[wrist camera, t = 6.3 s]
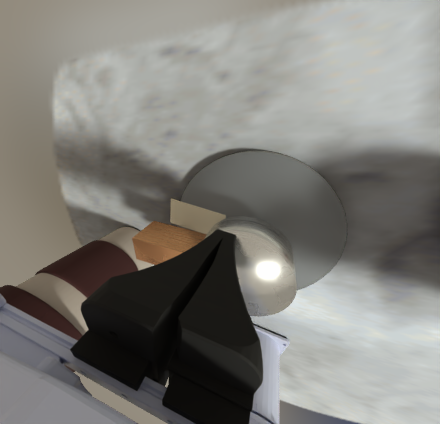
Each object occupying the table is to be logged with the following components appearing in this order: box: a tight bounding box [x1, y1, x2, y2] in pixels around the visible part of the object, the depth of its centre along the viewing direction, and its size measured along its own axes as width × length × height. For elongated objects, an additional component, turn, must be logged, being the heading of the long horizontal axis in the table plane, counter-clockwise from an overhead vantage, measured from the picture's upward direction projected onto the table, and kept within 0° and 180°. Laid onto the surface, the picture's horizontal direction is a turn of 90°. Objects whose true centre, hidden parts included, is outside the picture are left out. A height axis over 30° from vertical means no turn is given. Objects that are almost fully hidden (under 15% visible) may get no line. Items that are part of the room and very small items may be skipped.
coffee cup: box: [0, 227, 152, 372], centre depth 20 cm, size 10×10×15 cm
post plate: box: [170, 150, 347, 290], centre depth 17 cm, size 17×18×6 cm
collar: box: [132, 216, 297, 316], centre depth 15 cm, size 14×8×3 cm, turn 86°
